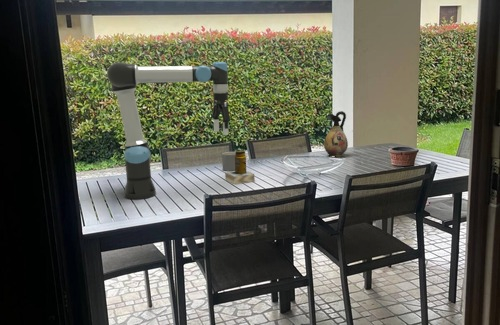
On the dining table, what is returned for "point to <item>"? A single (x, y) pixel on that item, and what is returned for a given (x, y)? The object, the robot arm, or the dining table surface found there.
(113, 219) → the dining table surface
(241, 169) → the condiment
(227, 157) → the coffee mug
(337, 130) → the ceramic jug
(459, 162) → the dining table surface
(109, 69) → the robot arm
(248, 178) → the plinth
